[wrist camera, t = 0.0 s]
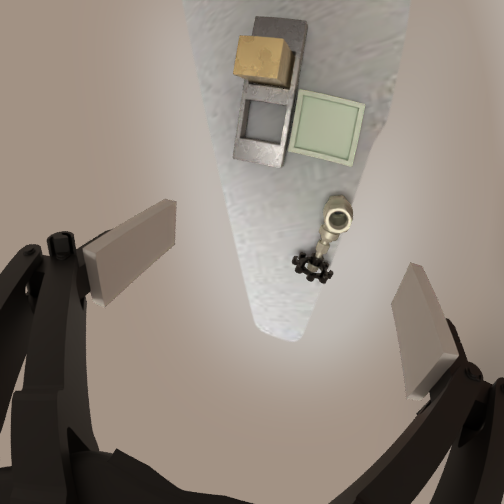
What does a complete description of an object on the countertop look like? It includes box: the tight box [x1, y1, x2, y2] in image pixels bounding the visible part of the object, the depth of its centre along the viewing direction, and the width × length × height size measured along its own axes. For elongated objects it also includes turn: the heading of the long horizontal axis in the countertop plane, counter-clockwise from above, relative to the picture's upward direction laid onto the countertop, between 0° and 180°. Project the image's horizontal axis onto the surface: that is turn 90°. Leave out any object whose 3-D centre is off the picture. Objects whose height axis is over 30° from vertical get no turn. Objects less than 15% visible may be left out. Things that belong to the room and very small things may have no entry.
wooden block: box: [233, 35, 295, 89], centre depth 30 cm, size 5×5×10 cm
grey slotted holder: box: [233, 16, 308, 168], centre depth 34 cm, size 22×7×2 cm, turn 171°
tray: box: [288, 89, 365, 167], centre depth 35 cm, size 9×9×2 cm
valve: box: [292, 195, 353, 284], centre depth 40 cm, size 7×7×12 cm
